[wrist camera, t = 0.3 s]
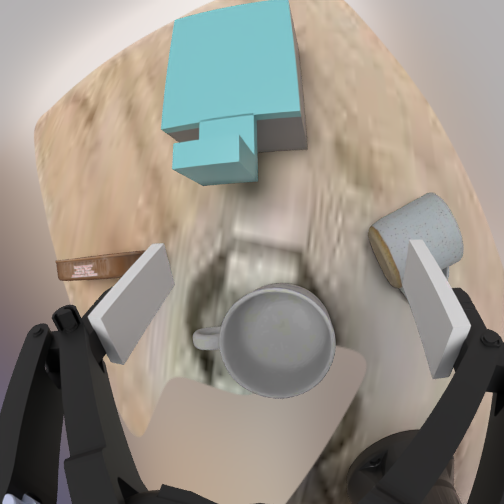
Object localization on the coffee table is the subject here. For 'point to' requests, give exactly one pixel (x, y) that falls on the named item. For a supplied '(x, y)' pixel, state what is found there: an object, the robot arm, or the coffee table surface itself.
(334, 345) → the teacup
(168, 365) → the coffee table surface
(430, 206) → the ceramic mug
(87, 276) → the tin
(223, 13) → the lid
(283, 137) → the tub
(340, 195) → the coffee table surface
